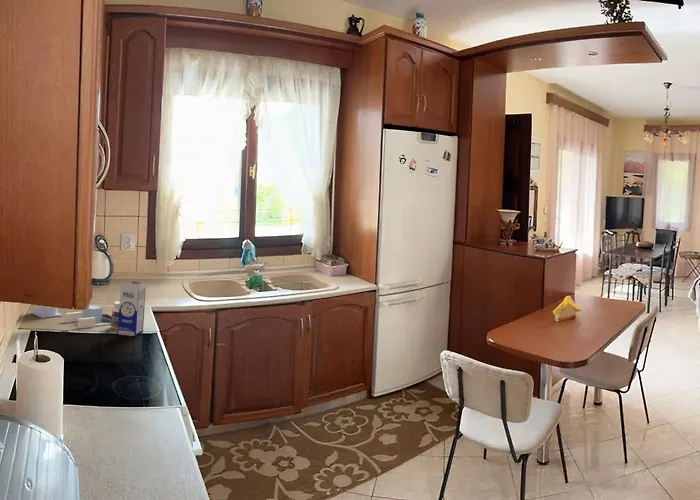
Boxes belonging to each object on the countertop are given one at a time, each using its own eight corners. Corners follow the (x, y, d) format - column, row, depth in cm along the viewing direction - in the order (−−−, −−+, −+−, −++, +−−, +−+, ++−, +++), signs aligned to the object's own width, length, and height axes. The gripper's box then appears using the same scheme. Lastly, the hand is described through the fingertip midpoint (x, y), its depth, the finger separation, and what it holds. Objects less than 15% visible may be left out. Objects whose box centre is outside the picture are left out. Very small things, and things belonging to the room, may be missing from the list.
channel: (65, 321, 226) (65, 313, 225) (96, 318, 235) (96, 310, 235) (79, 328, 219) (79, 319, 218) (110, 324, 228) (111, 315, 228)
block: (82, 322, 228) (82, 307, 227) (91, 320, 233) (92, 305, 232) (92, 324, 226) (92, 309, 226) (101, 322, 231) (102, 307, 230)
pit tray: (96, 318, 235) (97, 314, 235) (106, 317, 238) (106, 313, 238) (110, 324, 229) (110, 320, 228) (119, 323, 232) (120, 319, 232)
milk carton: (117, 334, 215) (120, 281, 213) (125, 330, 222) (128, 279, 220) (135, 337, 215) (138, 283, 213) (143, 332, 222) (146, 281, 220)
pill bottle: (107, 327, 224) (109, 302, 223) (117, 325, 229) (119, 300, 228) (120, 330, 222) (121, 304, 221) (130, 327, 227) (131, 302, 226)
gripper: (54, 266, 212) (52, 302, 214) (92, 264, 223) (90, 299, 225) (45, 263, 217) (43, 299, 218) (83, 262, 228) (81, 295, 229)
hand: (67, 299), depth 222 cm, fingers closed
